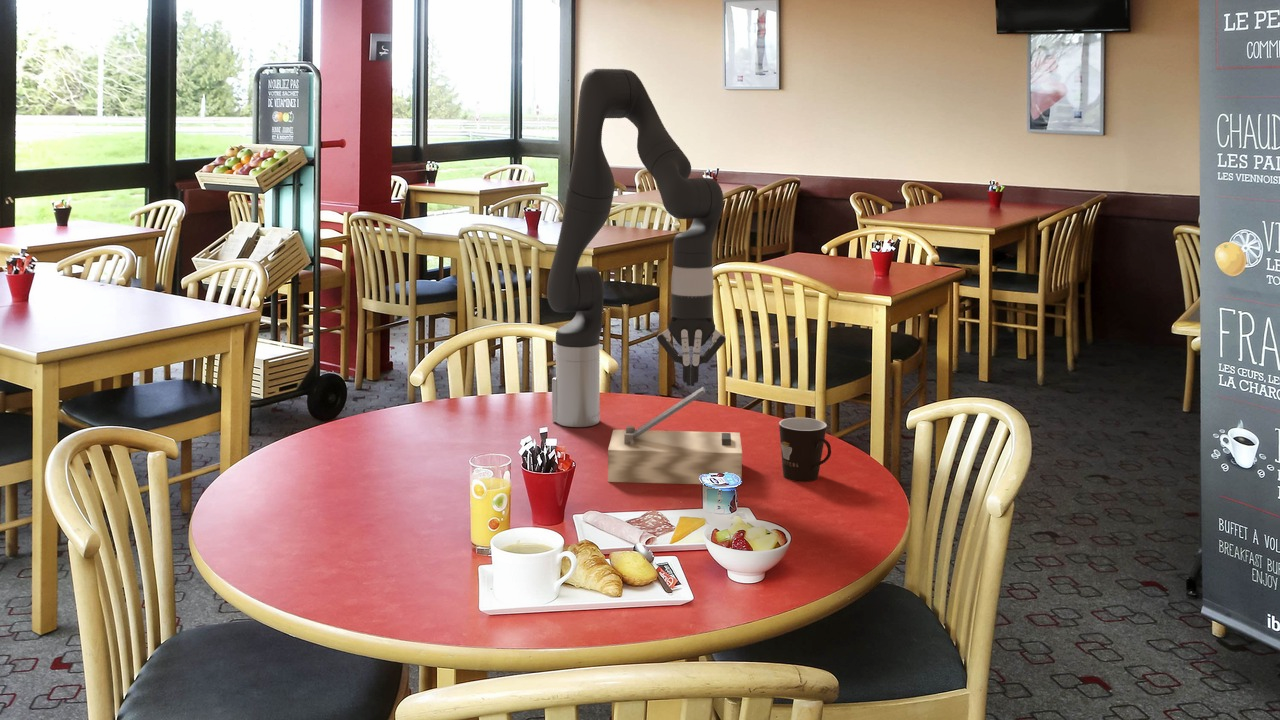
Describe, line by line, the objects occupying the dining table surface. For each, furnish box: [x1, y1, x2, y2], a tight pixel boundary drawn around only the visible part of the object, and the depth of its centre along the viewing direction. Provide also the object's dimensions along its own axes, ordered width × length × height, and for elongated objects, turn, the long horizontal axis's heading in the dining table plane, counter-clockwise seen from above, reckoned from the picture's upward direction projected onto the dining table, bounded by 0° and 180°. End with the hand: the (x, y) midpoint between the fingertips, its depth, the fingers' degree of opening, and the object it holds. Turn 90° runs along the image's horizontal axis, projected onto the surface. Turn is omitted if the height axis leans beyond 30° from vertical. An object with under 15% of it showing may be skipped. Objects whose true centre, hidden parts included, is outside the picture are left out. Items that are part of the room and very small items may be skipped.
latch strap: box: [632, 386, 706, 439], centre depth 212 cm, size 16×3×1 cm
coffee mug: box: [778, 417, 832, 483], centre depth 210 cm, size 12×9×10 cm
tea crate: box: [607, 425, 743, 485], centre depth 213 cm, size 24×13×8 cm, turn 87°
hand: (690, 384), depth 210 cm, fingers closed
